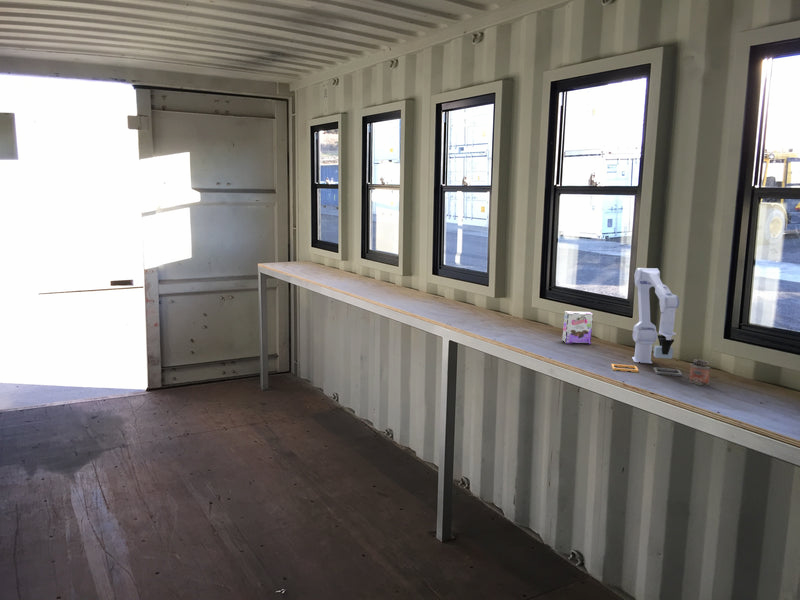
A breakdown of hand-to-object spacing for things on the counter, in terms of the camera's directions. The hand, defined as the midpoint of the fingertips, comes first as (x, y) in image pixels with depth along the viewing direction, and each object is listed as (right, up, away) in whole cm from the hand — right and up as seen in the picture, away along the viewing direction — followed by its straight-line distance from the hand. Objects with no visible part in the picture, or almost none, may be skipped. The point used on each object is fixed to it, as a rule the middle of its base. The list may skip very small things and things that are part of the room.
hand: (663, 352), depth 281 cm
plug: (0, -2, 0) cm, 2 cm away
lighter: (+9, -12, -14) cm, 20 cm away
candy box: (-23, 0, +57) cm, 62 cm away
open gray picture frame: (+2, -9, +1) cm, 9 cm away
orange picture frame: (-16, -8, +5) cm, 18 cm away
